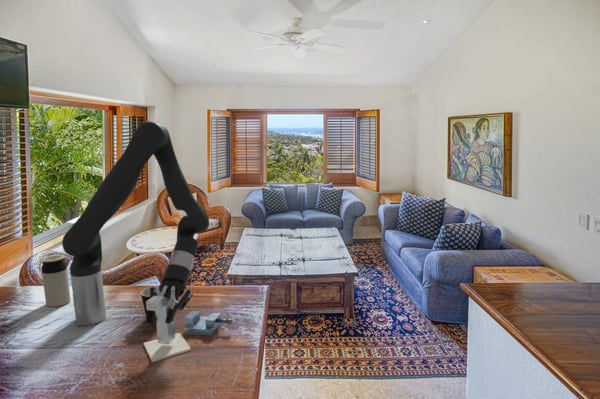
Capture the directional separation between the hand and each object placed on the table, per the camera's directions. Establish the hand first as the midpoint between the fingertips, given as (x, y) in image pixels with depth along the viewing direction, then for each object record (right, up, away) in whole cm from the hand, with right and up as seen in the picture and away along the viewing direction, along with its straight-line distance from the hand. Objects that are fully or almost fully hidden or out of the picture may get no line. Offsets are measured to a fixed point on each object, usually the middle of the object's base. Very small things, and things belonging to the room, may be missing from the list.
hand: (161, 322), depth 115 cm
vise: (+11, -7, +14) cm, 19 cm away
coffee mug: (-9, -5, +23) cm, 26 cm away
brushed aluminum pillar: (0, -7, +1) cm, 7 cm away
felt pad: (0, -9, +3) cm, 9 cm away
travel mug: (-51, -4, +35) cm, 62 cm away
